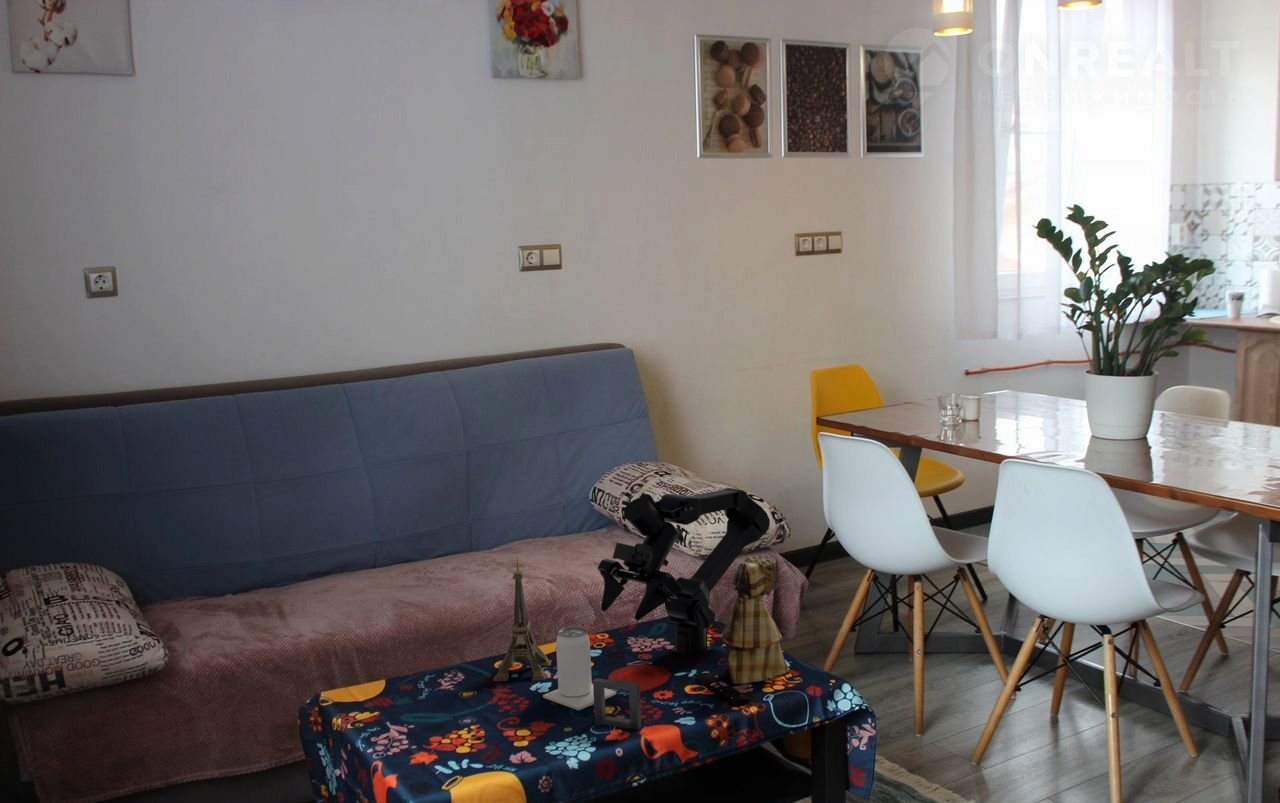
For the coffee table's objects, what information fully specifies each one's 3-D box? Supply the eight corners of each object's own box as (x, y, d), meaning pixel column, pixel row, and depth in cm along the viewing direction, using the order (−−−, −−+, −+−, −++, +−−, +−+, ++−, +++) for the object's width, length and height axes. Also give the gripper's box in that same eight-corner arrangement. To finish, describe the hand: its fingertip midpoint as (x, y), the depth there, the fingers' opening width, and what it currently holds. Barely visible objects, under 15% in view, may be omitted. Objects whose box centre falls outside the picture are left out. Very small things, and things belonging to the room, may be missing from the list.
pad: (580, 682, 227) (580, 679, 227) (616, 694, 220) (616, 691, 220) (543, 697, 220) (542, 695, 220) (578, 710, 213) (578, 707, 213)
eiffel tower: (501, 662, 240) (495, 546, 237) (551, 661, 240) (546, 545, 237) (493, 681, 230) (486, 560, 227) (545, 680, 229) (539, 559, 226)
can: (598, 688, 222) (595, 628, 221) (579, 700, 217) (577, 639, 215) (570, 683, 226) (568, 624, 224) (551, 694, 220) (549, 634, 219)
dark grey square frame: (598, 720, 208) (596, 678, 207) (641, 726, 205) (639, 683, 204) (594, 723, 207) (593, 681, 206) (638, 729, 204) (636, 686, 203)
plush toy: (697, 662, 233) (712, 550, 226) (752, 650, 240) (768, 541, 233) (736, 697, 222) (754, 582, 214) (792, 684, 229) (811, 571, 221)
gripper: (601, 520, 234) (564, 585, 227) (669, 533, 221) (632, 602, 214) (630, 549, 240) (594, 613, 234) (697, 564, 227) (661, 632, 221)
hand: (619, 614), depth 225 cm, fingers open, 9 cm apart
